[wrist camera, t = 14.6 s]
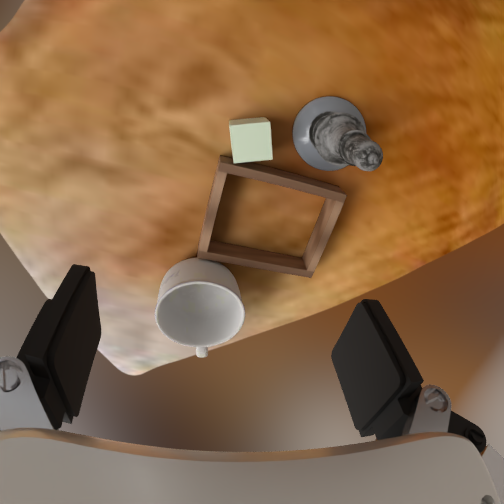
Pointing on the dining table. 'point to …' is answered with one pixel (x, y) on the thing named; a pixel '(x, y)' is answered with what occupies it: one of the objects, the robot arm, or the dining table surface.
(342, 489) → the robot arm
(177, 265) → the teacup
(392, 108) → the dining table surface
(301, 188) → the walnut corral
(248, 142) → the sage block
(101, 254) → the dining table surface
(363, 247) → the dining table surface
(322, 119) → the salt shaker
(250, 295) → the dining table surface
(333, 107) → the slate coaster
